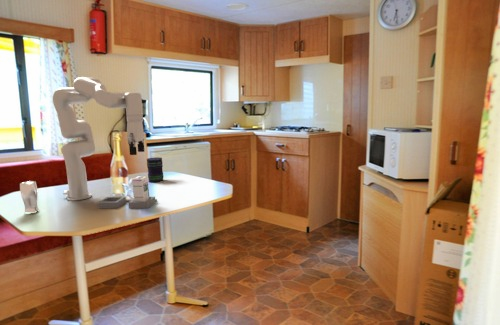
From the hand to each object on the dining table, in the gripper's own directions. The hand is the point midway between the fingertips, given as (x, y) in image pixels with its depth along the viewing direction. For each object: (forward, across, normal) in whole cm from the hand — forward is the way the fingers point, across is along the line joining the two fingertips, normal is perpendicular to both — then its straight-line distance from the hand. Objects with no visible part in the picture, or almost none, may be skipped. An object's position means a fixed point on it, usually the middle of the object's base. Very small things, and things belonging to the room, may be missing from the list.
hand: (137, 153), depth 176 cm
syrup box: (+27, 0, +1) cm, 27 cm away
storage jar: (+27, -53, -11) cm, 60 cm away
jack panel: (+27, -1, -7) cm, 28 cm away
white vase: (+28, +12, -50) cm, 59 cm away
